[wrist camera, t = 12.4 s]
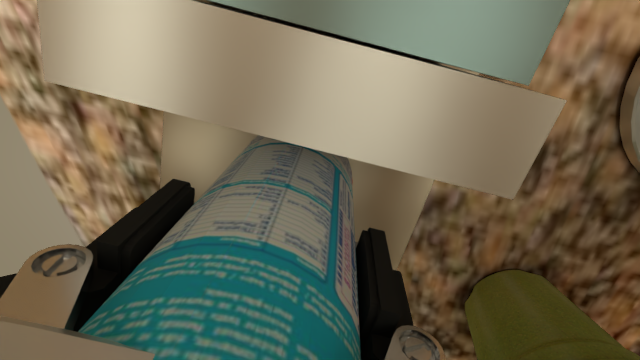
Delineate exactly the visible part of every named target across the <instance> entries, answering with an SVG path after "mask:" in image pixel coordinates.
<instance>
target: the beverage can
mask: <svg viewBox="0 0 640 360" xmlns="http://www.w3.org/2000/svg"><path fill="white" fill-rule="evenodd" d="M352 183H353V180H352V169H351V166H350V163H349V160H348V158H347V157H343V156H339V155H335V154H331V153H327V152H323V151H319V150H315V149H311V148H307V147H303V146H299V145H296V144H292V143H288V142H284V141H280V140H276V139H272V138H268V137H264V136H260V135H258V136H257V137H256V138H254V139H253V140H252V141H251V142H250V144H249V145H248V146H247V147H246V148H245V149H244V150H243V151H242V153H241V154H240V155H239V156H238V157H237V158H236V159H235V160H234V161H233V162H232V163H231V164H230V166H229V167H228V168H227V169H226V170H225V171H224V172H223V173H222V174H221V175H220V176H219V178H218V179H217V180H216V181H215V182H214V183H213V184H212V185H211V186H210V187H209V188H208V189H207V191H206V192H205V193H204V194H203V195H202V196H201V197H200V198H199V199H198V200H197V201H196V202H195V204H194V205H193V206H192V207H191V208H190V209H189V210H188V211H187V212H186V213H185V214H184V216H183V217H182V218H181V219H180V220H179V221H178V222H177V223H176V224H175V225H174V226H173V227H172V229H171V230H170V231H169V232H168V233H167V234H166V235H165V236H164V237H163V238H162V240H161V241H160V242H159V243H158V244H157V245H156V246H155V247H154V248H153V250H152V251H151V252H150V253H149V254H148V255H147V256H146V257H145V258H144V259H143V261H142V262H141V263H140V264H139V265H138V266H137V267H136V268H135V269H134V270H133V272H132V273H131V274H130V275H129V276H128V277H127V278H126V279H125V280H124V281H123V283H122V284H121V285H120V286H119V287H118V288H117V289H116V290H115V291H114V292H113V294H112V295H111V296H110V297H109V298H108V299H107V300H106V301H105V302H104V303H103V305H102V306H101V307H100V308H99V309H98V310H97V311H96V312H95V313H94V314H93V316H92V317H91V318H90V319H89V320H88V321H87V322H86V323H85V324H84V326H83V327H82V328H81V329H80V330H79V331H78V332H80V333H84V334H89V335H93V336H97V337H102V338H105V339H108V340H112V341H115V342H118V343H121V344H123V345H126V346H129V347H132V348H136V349H139V350H142V351H146V352H149V353H152V354H155V356H154V358H153V360H361V349H360V327H359V305H358V284H357V265H356V246H355V227H354V208H353V189H352Z"/></svg>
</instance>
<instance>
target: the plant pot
mask: <svg viewBox="0 0 640 360" xmlns="http://www.w3.org/2000/svg"><path fill="white" fill-rule="evenodd" d="M465 314H466V317H467V321H468V325H469V329H470V333H471V336H472V340H473V344H474V348H475V352H476V356H477V360H640V356H638V355H637V354H635V353H633V352H631V351H629V350H627V349H625V348H624V347H623V346H622V345H621V344H619V343H618V342H617V341H616V340H615V339H614V338H612V337H611V336H610V335H609V334H608V333H607V332H606V331H604V330H603V329H602V328H601V327H600V326H599V325H597V324H596V323H595V322H594V321H593V320H592V319H591V318H589V317H588V316H587V315H586V314H585V313H584V312H583V311H581V310H580V309H579V308H578V307H577V306H576V305H575V304H573V303H572V302H571V301H570V300H569V299H568V298H567V297H566V296H564V295H563V294H562V293H561V292H560V291H559V290H558V289H557V288H555V287H554V286H553V285H552V284H551V283H550V282H549V281H547V280H546V279H545V278H544V277H542V276H541V275H536V274H532V273H528V272H524V271H521V270H507V271H502V272H498V273H495V274H492V275H490V276H488V277H486V278H484V279H483V280H481V281H480V282H479V283H477V284H476V285H475V286H474V289H473V291H472V293H471V295H470V297H469V298H468V300H467V301H466V302H465Z"/></svg>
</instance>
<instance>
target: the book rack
mask: <svg viewBox="0 0 640 360" xmlns="http://www.w3.org/2000/svg"><path fill="white" fill-rule="evenodd" d="M569 2H570V0H37V7H38V18H39V28H40V39H41V50H42V60H43V71H44V81H47V82H51V83H55V84H59V85H63V86H67V87H71V88H75V89H79V90H83V91H87V92H91V93H95V94H99V95H102V96H106V97H110V98H114V99H118V100H122V101H126V102H130V103H134V104H138V105H142V106H146V107H150V108H154V109H158V110H162V111H164V118H163V138H162V157H161V177H160V189H161V188H162V187H163V186H165V185H166V184H167V183H168V182H169V181H171V180H172V179H177V180H181V181H185V182H189V183H190V184H191V187H193V188H195V196H194V204H195V202H196V201H197V200H198V199H199V198H200V197H201V196H202V195H203V194H204V193H205V192H206V191H207V189H208V188H209V187H210V186H211V185H212V184H213V183H214V182H215V181H216V180H217V179H218V178H219V176H220V175H221V174H222V173H223V172H224V171H225V170H226V169H227V168H228V167H229V166H230V164H231V163H232V162H233V161H234V160H235V159H236V158H237V157H238V156H239V155H240V154H241V153H242V151H243V150H244V149H245V148H246V147H247V146H248V145H249V144H250V142H251V141H252V140H253V139H254V138H256V137H257V136H258V135H260V136H264V137H268V138H272V139H276V140H280V141H284V142H288V143H292V144H296V145H299V146H303V147H307V148H311V149H315V150H319V151H323V152H327V153H331V154H335V155H339V156H343V157H347V158H348V160H349V163H350V166H351V169H352V180H353V183H352V189H353V208H354V227H355V246H356V247H357V244H358V241H359V238H360V235H361V233H362V231H363V230H366V231H367V230H368V228H369V227H370V228H374V229H378V230H382V231H385V235H386V240H387V245H388V250H389V255H390V260H391V265H392V270H397V268H398V265H399V263H400V261H401V258H402V256H403V254H404V251H405V249H406V246H407V244H408V242H409V239H410V237H411V235H412V232H413V230H414V227H415V225H416V223H417V220H418V218H419V216H420V213H421V211H422V208H423V206H424V204H425V201H426V199H427V197H428V194H429V192H430V190H431V187H432V185H433V182H434V180H437V181H441V182H445V183H449V184H453V185H457V186H461V187H465V188H469V189H473V190H477V191H481V192H485V193H489V194H493V195H496V196H500V197H504V198H508V199H512V200H513V199H514V197H515V195H516V194H517V192H518V190H519V188H520V186H521V184H522V183H523V181H524V179H525V177H526V175H527V173H528V172H529V170H530V168H531V166H532V164H533V162H534V160H535V159H536V157H537V155H538V153H539V151H540V149H541V148H542V146H543V144H544V142H545V140H546V138H547V136H548V135H549V133H550V131H551V129H552V127H553V125H554V124H555V122H556V120H557V118H558V116H559V114H560V113H561V111H562V109H563V107H564V105H565V103H566V101H567V100H564V99H560V98H557V97H553V96H550V95H546V94H543V93H539V92H535V91H532V90H528V89H525V88H521V87H518V86H514V85H511V84H507V83H503V82H500V81H496V80H493V79H489V78H486V77H482V76H479V73H482V74H486V75H490V76H493V77H497V78H501V79H505V80H509V81H513V82H517V83H520V84H524V85H528V86H529V84H530V82H531V80H532V78H533V76H534V73H535V71H536V69H537V67H538V65H539V63H540V61H541V59H542V57H543V55H544V53H545V51H546V49H547V47H548V45H549V43H550V41H551V39H552V36H553V34H554V32H555V30H556V28H557V26H558V24H559V22H560V20H561V18H562V16H563V14H564V12H565V10H566V8H567V6H568V4H569Z"/></svg>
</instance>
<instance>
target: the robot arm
mask: <svg viewBox="0 0 640 360" xmlns="http://www.w3.org/2000/svg"><path fill="white" fill-rule="evenodd" d="M620 133H621V138H622V144H623V148H624V150H625V152H626V154H627V156H628V158H629V160H630V162H631V164H632V165H633V166H634V167H635V168H636V169H637V170H638V172H639V173H640V57H639V58H638V60H637V62H636V64H635V66H634V68H633V71H632V73H631V75H630V77H629V80H628V82H627V84H626V88H625V92H624V96H623V99H622V103H621V108H620ZM194 196H195V188H193V187H191V184H190V183H189V182H185V181H181V180H177V179H172V180H171V181H169V182H168V183H167V184H166V185H165V186H163V187H162V188H161V189H160V190H158V191H157V192H156V193H155V194H154V195H152V196H151V197H150V198H149V199H147V200H146V201H145V202H144V203H143V204H141V205H140V206H139V207H136V208H134V209H133V210H131V211H130V212H129V213H128V214H127V215H125V216H124V217H123V218H122V219H120V220H119V221H118V222H117V223H115V224H114V225H113V226H112V227H110V228H109V229H108V230H107V231H106V232H104V233H103V234H102V235H101V236H99V237H98V238H97V239H96V240H94V241H93V242H92V243H91V244H89V245H88V246H87V247H83V246H79V245H71V244H67V245H57V246H52V247H48V248H46V249H43V250H41V251H38V252H37V253H35V254H33V255H32V256H31V257H29V258H28V259H27V260H26V261H25V263H24V264H23V266H22V267H21V269H20V270H19V272H18V273H17V274H12V275H7V276H3V277H0V360H153V358H154V356H155V354H152V353H149V352H146V351H142V350H139V349H136V348H132V347H129V346H126V345H123V344H121V343H118V342H115V341H112V340H108V339H105V338H102V337H97V336H93V335H89V334H84V333H80V332H78V331H79V330H80V329H81V328H82V327H83V326H84V324H85V323H86V322H87V321H88V320H89V319H90V318H91V317H92V316H93V314H94V313H95V312H96V311H97V310H98V309H99V308H100V307H101V306H102V305H103V303H104V302H105V301H106V300H107V299H108V298H109V297H110V296H111V295H112V294H113V292H114V291H115V290H116V289H117V288H118V287H119V286H120V285H121V284H122V283H123V281H124V280H125V279H126V278H127V277H128V276H129V275H130V274H131V273H132V272H133V270H134V269H135V268H136V267H137V266H138V265H139V264H140V263H141V262H142V261H143V259H144V258H145V257H146V256H147V255H148V254H149V253H150V252H151V251H152V250H153V248H154V247H155V246H156V245H157V244H158V243H159V242H160V241H161V240H162V238H163V237H164V236H165V235H166V234H167V233H168V232H169V231H170V230H171V229H172V227H173V226H174V225H175V224H176V223H177V222H178V221H179V220H180V219H181V218H182V217H183V216H184V214H185V213H186V212H187V211H188V210H189V209H190V208H191V207H192V206H193V205H194ZM356 265H357V284H358V305H359V327H360V349H361V360H445V353H444V351H443V348H442V347H441V345H440V344H439V342H438V341H437V340H436V339H435V338H434V337H433V336H432V335H431V334H429V333H428V332H426V331H425V330H423V329H421V328H418V327H416V326H413V322H412V317H411V313H410V309H409V305H408V300H407V296H406V292H405V288H404V283H403V279H402V275H401V272H399V271H396V270H392V265H391V260H390V255H389V250H388V245H387V240H386V235H385V231H382V230H378V229H374V228H370V227H369V228H368V230H367V231H366V230H363V231H362V233H361V235H360V238H359V241H358V244H357V247H356Z"/></svg>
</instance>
